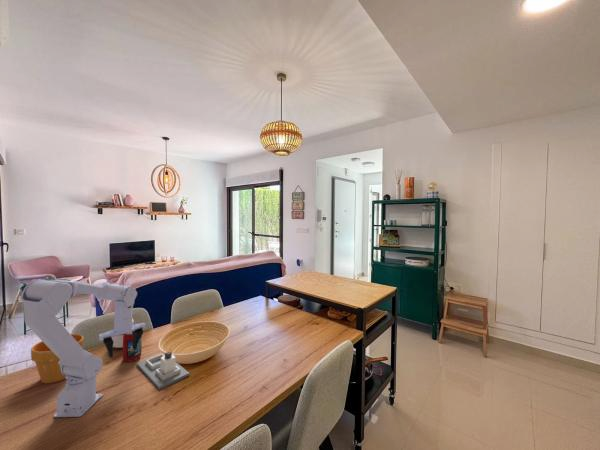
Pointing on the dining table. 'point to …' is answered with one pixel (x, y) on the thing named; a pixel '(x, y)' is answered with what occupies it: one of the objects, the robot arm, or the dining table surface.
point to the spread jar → (118, 341)
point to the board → (153, 372)
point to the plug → (167, 363)
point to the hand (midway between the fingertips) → (122, 352)
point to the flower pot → (49, 361)
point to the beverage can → (128, 351)
